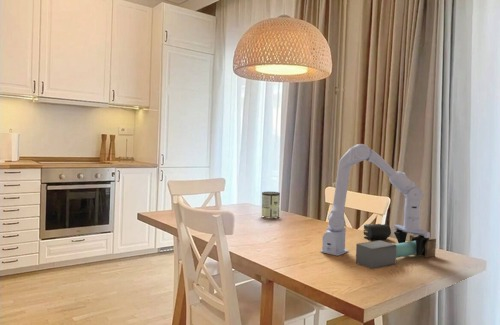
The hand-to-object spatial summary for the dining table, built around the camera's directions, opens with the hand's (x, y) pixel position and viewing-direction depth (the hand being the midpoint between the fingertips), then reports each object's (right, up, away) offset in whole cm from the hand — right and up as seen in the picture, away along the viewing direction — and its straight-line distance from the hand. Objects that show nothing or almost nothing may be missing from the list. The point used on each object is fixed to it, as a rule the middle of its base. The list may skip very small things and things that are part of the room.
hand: (410, 252), depth 148 cm
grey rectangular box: (-16, -2, -9) cm, 19 cm away
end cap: (-4, -1, +27) cm, 27 cm away
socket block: (+6, -2, +4) cm, 7 cm away
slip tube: (-4, -1, -2) cm, 4 cm away
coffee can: (-50, +3, +73) cm, 89 cm away
